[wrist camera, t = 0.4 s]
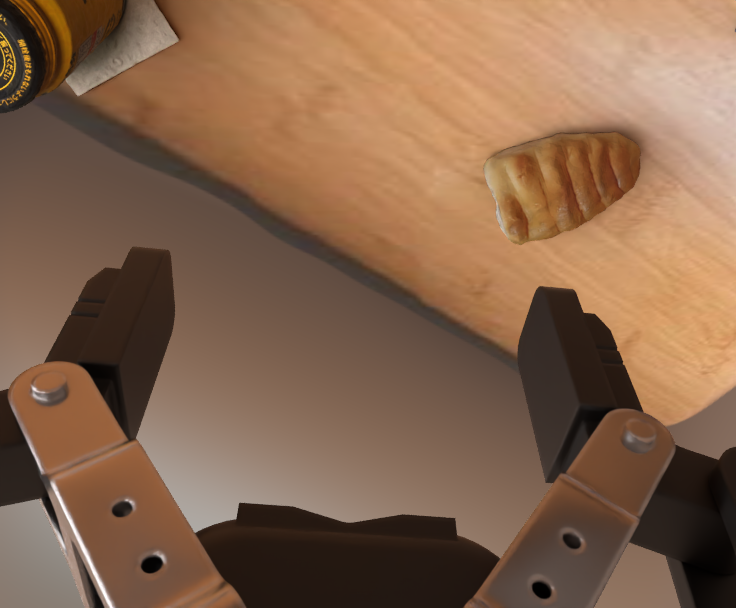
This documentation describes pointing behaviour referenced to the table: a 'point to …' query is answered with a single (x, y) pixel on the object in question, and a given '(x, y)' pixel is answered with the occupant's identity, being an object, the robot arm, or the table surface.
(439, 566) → the robot arm
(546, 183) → the pastry
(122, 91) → the table surface
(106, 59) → the condiment
